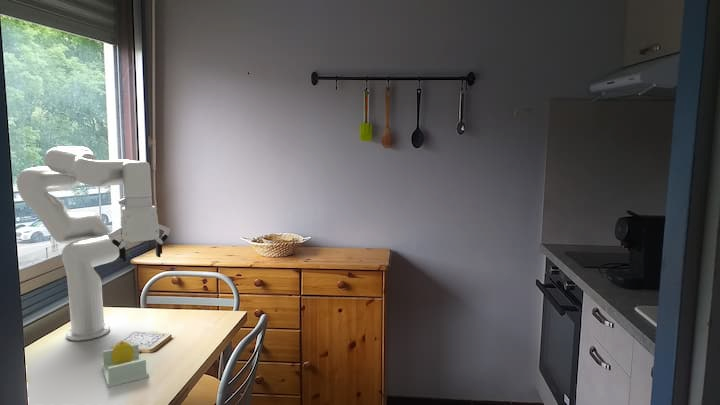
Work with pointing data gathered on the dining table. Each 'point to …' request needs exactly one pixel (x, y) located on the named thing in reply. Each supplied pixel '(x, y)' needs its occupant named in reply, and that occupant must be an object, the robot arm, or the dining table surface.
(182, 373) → the dining table surface
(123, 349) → the lemon
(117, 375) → the holder
